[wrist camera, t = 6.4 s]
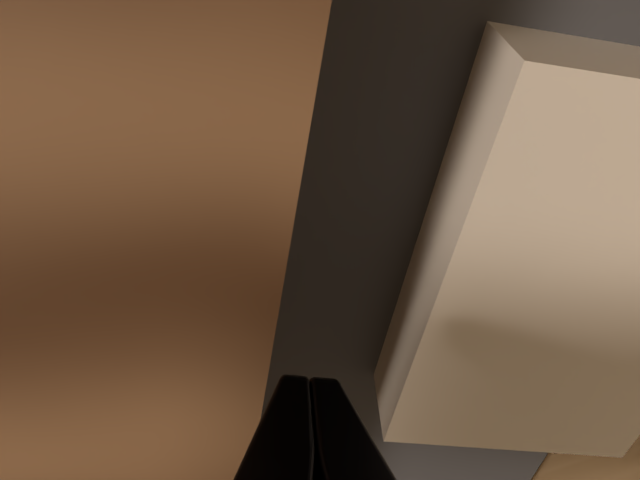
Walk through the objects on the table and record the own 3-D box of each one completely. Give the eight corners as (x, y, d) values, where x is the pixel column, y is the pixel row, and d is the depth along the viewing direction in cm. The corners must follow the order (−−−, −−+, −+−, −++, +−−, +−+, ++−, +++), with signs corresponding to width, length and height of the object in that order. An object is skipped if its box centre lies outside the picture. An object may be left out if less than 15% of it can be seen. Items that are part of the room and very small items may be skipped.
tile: (383, 441, 14) (373, 374, 15) (622, 457, 14) (588, 392, 16) (524, 60, 9) (486, 21, 10) (884, 117, 9) (795, 72, 11)
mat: (511, 492, 20) (515, 503, 19) (238, 475, 18) (236, 487, 18) (1024, -330, 8) (1055, -336, 8) (385, -511, 7) (389, -527, 7)
